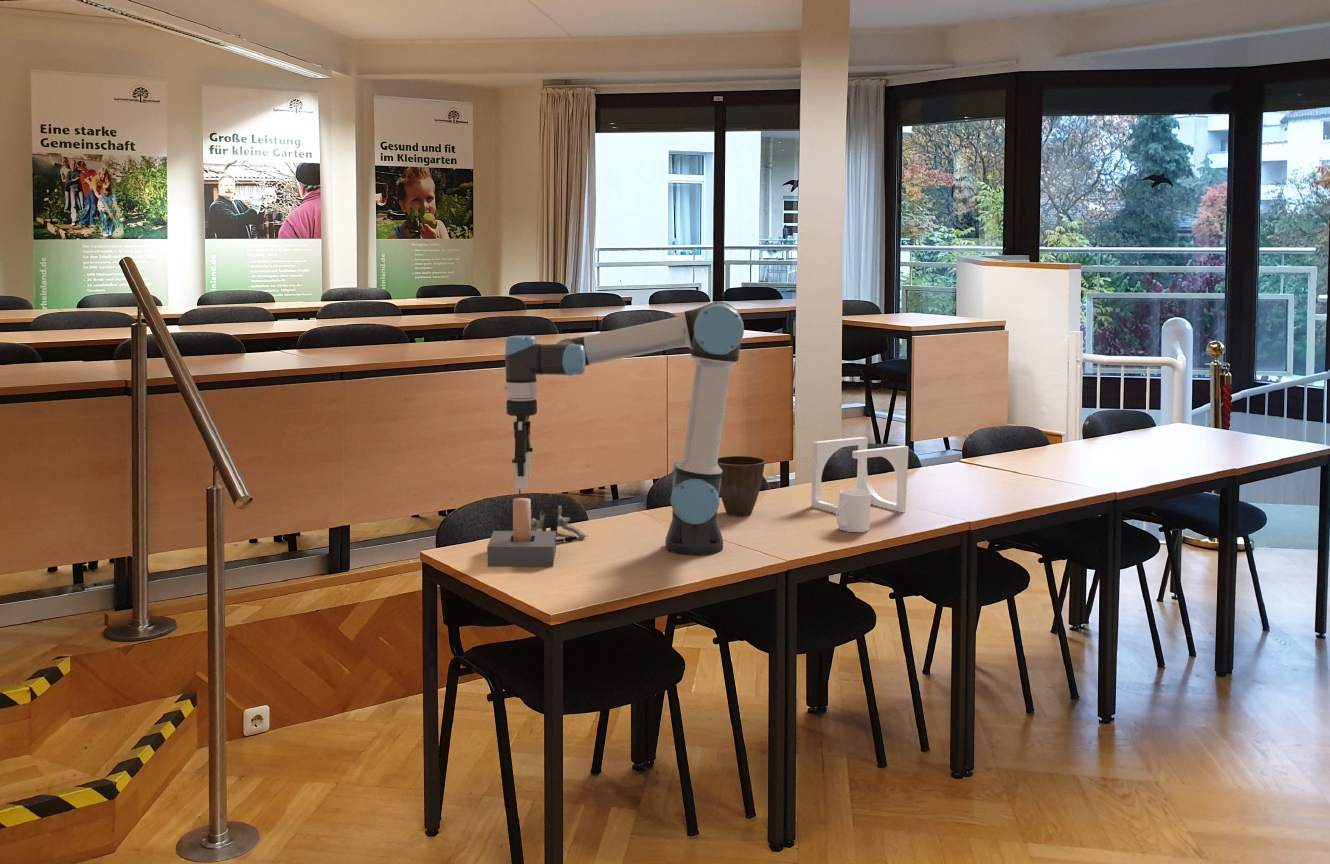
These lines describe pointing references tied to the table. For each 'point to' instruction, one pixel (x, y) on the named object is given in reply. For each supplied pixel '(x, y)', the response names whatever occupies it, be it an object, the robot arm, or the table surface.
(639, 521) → the table surface
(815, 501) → the white piece
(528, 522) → the peg
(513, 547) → the socket block
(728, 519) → the table surface
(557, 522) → the bike brake
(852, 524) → the mug
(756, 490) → the plant pot
